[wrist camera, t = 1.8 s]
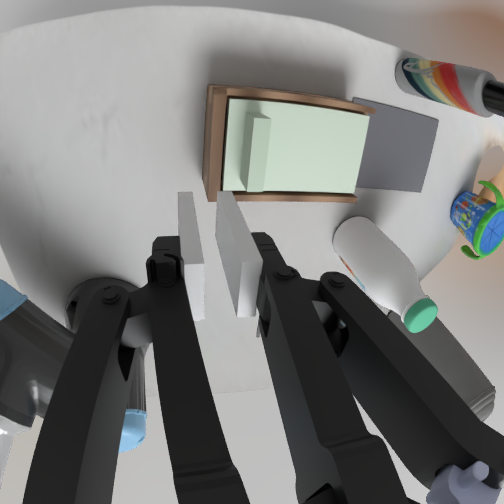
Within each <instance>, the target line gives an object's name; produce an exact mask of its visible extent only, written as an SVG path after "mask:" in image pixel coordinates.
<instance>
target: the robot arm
mask: <svg viewBox="0 0 504 504" xmlns="http://www.w3.org/2000/svg"><path fill="white" fill-rule="evenodd" d="M178 234H179V236H162V237H157V238H156V239H155V241H154V242H153V246H152V255H151V256H150V257H149V258H148V259H147V262H146V269H147V278H148V283H147V284H146V285H145V286H144V287H142V288H140V289H138V288H137V287H135V286H133V285H131V284H129V283H127V282H124V281H121V280H118V279H113V278H95V279H91V280H88V281H85V282H83V283H81V284H79V285H78V286H77V287H76V288H75V289H74V290H73V291H72V292H71V294H70V296H69V299H68V302H67V305H66V310H65V320H66V328H65V327H64V326H63V325H61V324H60V323H58V322H57V321H56V320H54V319H53V318H52V317H50V316H49V315H48V314H46V313H45V312H44V311H42V310H41V309H40V308H39V307H37V306H36V305H35V304H34V303H32V302H31V301H30V300H29V299H27V298H28V297H27V295H22V294H21V293H20V292H18V291H17V290H16V289H14V288H13V287H12V286H10V285H9V284H8V283H7V282H5V281H3V280H1V279H0V487H1V483H2V479H3V475H4V471H5V467H6V463H7V460H8V456H9V453H10V449H11V446H12V442H13V439H14V436H15V435H16V434H18V433H21V432H24V431H27V430H30V429H31V427H32V424H33V421H34V419H35V416H36V415H38V416H40V417H42V418H44V421H43V424H42V427H41V430H40V434H39V437H38V441H37V444H36V448H35V451H34V455H33V459H32V463H31V467H30V471H29V475H28V480H27V484H26V489H25V493H24V498H23V504H111V502H112V493H113V486H114V478H115V471H116V465H117V457H118V453H120V452H125V451H128V450H131V449H134V448H135V447H137V446H139V445H140V444H141V443H142V442H143V440H144V438H145V433H146V418H147V413H146V398H145V372H144V356H145V354H146V351H147V349H148V347H149V345H150V343H152V342H153V350H154V359H155V368H156V376H157V384H158V391H159V398H160V404H161V411H162V417H163V423H164V429H165V434H166V439H167V444H168V450H169V455H170V460H171V465H172V470H173V479H174V485H175V490H176V494H177V498H178V503H179V504H250V502H249V499H248V497H247V493H246V491H245V488H244V485H243V482H242V479H241V477H240V474H239V472H238V470H237V468H236V467H235V466H234V464H233V463H232V460H231V457H230V454H229V451H228V448H227V444H226V441H225V438H224V434H223V431H222V428H221V424H220V421H219V417H218V414H217V411H216V407H215V403H214V400H213V396H212V392H211V389H210V385H209V381H208V378H207V374H206V370H205V366H204V362H203V358H202V354H201V350H200V346H199V342H198V338H197V333H196V329H195V325H194V321H200V320H204V259H203V253H202V248H201V242H200V236H199V230H198V224H197V218H196V212H195V205H194V199H193V192H178ZM215 237H216V241H217V245H218V248H219V252H220V256H221V260H222V264H223V268H224V271H225V275H226V279H227V283H228V286H229V290H230V294H231V298H232V301H233V305H234V309H235V312H236V316H237V318H240V317H251V316H255V315H256V308H258V311H259V314H260V315H259V321H258V328H257V336H256V337H259V335H260V333H261V337H262V341H263V345H264V349H265V353H266V357H267V361H268V365H269V369H270V374H271V378H272V382H273V386H274V389H275V393H276V397H277V402H278V406H279V409H280V414H281V418H282V422H283V425H284V429H285V433H286V437H287V441H288V445H289V449H290V453H291V457H292V461H293V465H294V468H295V473H296V494H297V499H298V503H299V504H420V503H418V502H416V501H414V500H411V499H410V498H408V497H406V494H405V491H404V489H403V486H402V484H401V481H400V479H399V476H398V473H397V471H396V468H395V466H394V463H393V461H392V459H391V456H390V454H389V451H388V449H387V446H386V444H385V443H384V441H383V439H381V438H380V437H379V436H377V435H372V434H370V433H369V432H368V431H367V429H366V426H365V424H364V421H363V419H362V417H361V414H360V411H359V409H358V407H357V404H356V402H355V399H354V397H353V395H354V396H355V398H356V399H357V401H358V402H359V403H360V405H361V406H362V407H363V409H364V410H365V412H366V413H367V414H368V416H369V417H370V418H371V420H372V421H373V423H374V424H375V425H376V427H377V428H378V429H379V431H380V432H381V433H382V435H383V436H384V438H385V439H386V440H387V442H388V443H389V444H390V445H391V447H392V449H393V450H394V451H395V453H396V454H397V455H398V457H399V458H400V460H401V461H402V462H403V464H404V465H405V466H406V468H407V469H408V470H409V471H410V472H411V473H412V475H413V476H414V477H415V478H416V479H417V480H418V481H419V482H420V483H422V484H423V485H424V486H425V487H427V488H428V489H430V490H431V491H430V492H429V493H428V494H427V497H426V502H427V503H428V504H495V503H496V501H497V498H498V496H499V493H500V491H501V489H502V488H503V487H504V436H503V435H501V434H500V433H498V432H497V431H495V430H494V429H492V428H491V427H489V426H488V425H486V424H485V423H483V422H482V421H480V419H479V418H478V417H477V416H476V415H475V413H474V412H473V411H472V410H471V409H470V408H469V406H468V405H467V404H466V403H465V402H464V401H463V399H462V398H461V397H460V396H459V395H458V394H457V392H456V391H455V390H454V389H453V388H452V387H451V386H450V384H449V383H448V382H447V381H446V380H445V379H444V378H443V377H442V375H441V374H440V373H439V372H438V371H437V370H436V369H435V368H434V366H433V365H432V364H431V363H430V362H429V361H428V360H427V359H426V358H425V357H424V355H423V354H422V353H421V352H420V351H419V350H418V349H417V348H416V347H415V346H414V345H413V344H412V342H411V341H410V340H409V339H408V338H407V337H406V336H405V335H404V334H403V333H402V332H401V331H400V330H399V329H398V327H397V326H396V325H395V324H394V323H393V322H392V321H391V320H390V319H389V318H388V317H387V316H386V315H385V314H384V313H383V312H382V311H381V310H380V309H379V308H378V307H377V306H376V305H375V304H374V302H373V301H372V300H371V299H370V298H369V297H368V296H367V295H366V294H365V293H364V292H363V291H362V290H361V289H360V288H359V287H358V286H357V285H356V284H355V283H354V282H353V281H352V280H351V279H350V278H349V277H347V276H346V275H344V274H341V273H339V272H326V273H324V274H323V275H322V276H321V278H320V281H317V280H310V279H304V278H301V276H300V274H299V272H298V271H297V270H296V269H294V268H293V267H290V266H287V265H286V263H285V261H284V259H283V257H282V256H281V254H280V252H279V250H278V248H277V246H276V245H275V243H274V241H273V239H272V238H271V237H270V236H269V235H267V234H266V233H265V232H254V233H250V231H249V228H248V226H247V224H246V222H245V220H244V217H243V215H242V213H241V211H240V208H239V206H238V204H237V202H236V200H235V197H234V195H233V193H232V191H217V210H216V232H215ZM341 320H342V321H343V322H344V324H345V327H344V326H343V325H342V324H341V323H340V321H341ZM352 394H353V395H352Z"/></svg>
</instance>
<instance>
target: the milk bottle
mask: <svg viewBox="0 0 504 504" xmlns="http://www.w3.org/2000/svg"><path fill="white" fill-rule="evenodd" d="M333 247H334V250H335V252H336V253H337V255H338V256H339V258H340V259H341V260H342V262H343V263H344V264H345V265H346V267H347V268H348V269H349V271H350V272H351V273H352V275H353V276H354V277H355V278H356V280H357V281H358V282H359V284H360V285H361V286H362V288H363V289H364V290H365V291H366V292H367V294H368V295H369V296H370V297H371V298H372V299H373V300H374V301H375V302H377V303H378V304H380V305H382V306H384V307H386V308H388V309H391V310H393V311H394V312H396V313H397V314H399V315H400V316H401V320H402V322H403V323H404V324H405V326H406V327H407V329H408V330H409V331H410V332H412V333H417V332H420V331H422V330H424V329H425V328H426V327H428V326H429V325H430V324H431V323H432V321H433V320H434V319H435V317H436V315H437V312H438V308H437V306H436V304H435V303H434V302H433V301H432V300H431V299H430V298H429V296H428V295H424V293H423V291H422V289H421V286H420V283H419V280H418V276H417V272H416V270H415V268H414V266H413V264H412V263H411V261H410V260H409V258H408V257H407V256H406V255H405V254H404V253H403V252H402V251H401V250H400V249H399V248H398V247H397V246H396V245H395V244H394V243H393V242H392V241H391V240H390V239H389V238H388V237H387V236H386V235H385V234H384V233H383V232H382V231H381V230H380V229H379V228H378V227H377V226H376V225H375V224H374V223H372V222H371V221H370V220H369V219H367V218H365V217H358V216H357V217H352V218H349V219H348V220H346V221H344V222H343V223H342V224H341V225H340V226H339V227H338V229H337V230H336V232H335V234H334V238H333Z"/></svg>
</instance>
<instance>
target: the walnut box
mask: <svg viewBox="0 0 504 504" xmlns="http://www.w3.org/2000/svg"><path fill="white" fill-rule="evenodd" d="M228 98H240V99H255V100H267V101H277V102H287V103H296V104H304V105H311V106H318V107H325V108H331V109H337V110H343V111H349V112H354V113H360V114H365V115H367V113H371V114H375V112H376V108H372V107H369V106H366V105H362V104H359V103H356V102H352V101H348V100H344V99H339V98H333V97H328V96H322V95H315V94H309V93H302V92H294V91H286V90H278V89H268V88H257V87H245V86H229V85H208V88H207V101H206V117H205V134H204V153H203V176H202V180H203V184H204V188H205V192H206V196H207V200H208V202H217V191H223V189H222V171H223V156H224V142H225V128H226V116H227V103H228ZM232 193H233V195H234V197H235V200H236V201H297V202H343V203H356V202H357V197H356V196H355V195H353V194H352V193H335V192H307V191H263V192H247V191H232Z"/></svg>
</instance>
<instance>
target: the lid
mask: <svg viewBox="0 0 504 504" xmlns="http://www.w3.org/2000/svg"><path fill="white" fill-rule="evenodd" d="M369 118H370V116H367V115H365V114H360V113H354V112H349V111H343V110H337V109H331V108H325V107H318V106H311V105H304V104H296V103H287V102H277V101H267V100H255V99H240V98H228V103H227V116H226V128H225V142H224V156H223V171H222V189H223V191H247V192H263V191H307V192H335V193H354V191H355V186H356V182H357V177H358V173H359V168H360V164H361V159H362V154H363V149H364V144H365V139H366V134H367V129H368V124H369Z"/></svg>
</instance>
